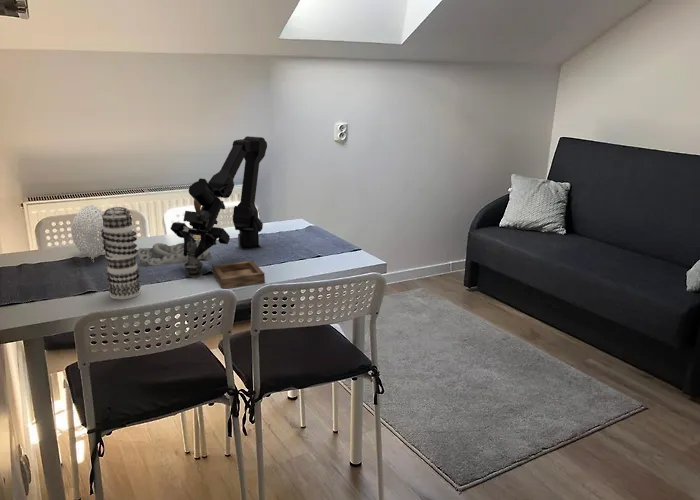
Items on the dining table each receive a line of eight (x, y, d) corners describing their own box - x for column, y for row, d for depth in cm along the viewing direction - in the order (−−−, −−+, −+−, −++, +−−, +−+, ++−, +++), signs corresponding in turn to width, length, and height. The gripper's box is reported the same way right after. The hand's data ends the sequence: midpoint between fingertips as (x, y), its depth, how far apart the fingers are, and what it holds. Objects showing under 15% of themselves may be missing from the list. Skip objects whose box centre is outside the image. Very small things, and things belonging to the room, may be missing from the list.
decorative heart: (105, 265, 196) (100, 214, 191) (70, 267, 194) (63, 215, 189) (113, 248, 213) (108, 201, 208) (81, 250, 211) (75, 202, 206)
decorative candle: (100, 296, 171) (90, 211, 163) (123, 286, 179) (114, 203, 171) (126, 301, 168) (117, 214, 160) (148, 290, 176) (141, 207, 168)
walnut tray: (253, 269, 195) (252, 260, 194) (264, 282, 183) (264, 273, 182) (212, 274, 190) (212, 265, 189) (222, 288, 178) (221, 279, 177)
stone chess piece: (207, 274, 190) (205, 237, 186) (195, 279, 185) (193, 242, 181) (192, 271, 192) (190, 235, 189) (180, 276, 187) (177, 239, 184)
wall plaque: (203, 245, 220) (202, 235, 219) (212, 261, 204) (212, 250, 202) (134, 252, 212) (133, 241, 210) (139, 269, 195) (137, 258, 194)
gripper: (171, 197, 188) (151, 240, 182) (222, 202, 182) (203, 247, 175) (188, 215, 198) (169, 257, 191) (237, 221, 191) (220, 265, 185)
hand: (189, 256), depth 185 cm, fingers closed on stone chess piece, 3 cm apart
